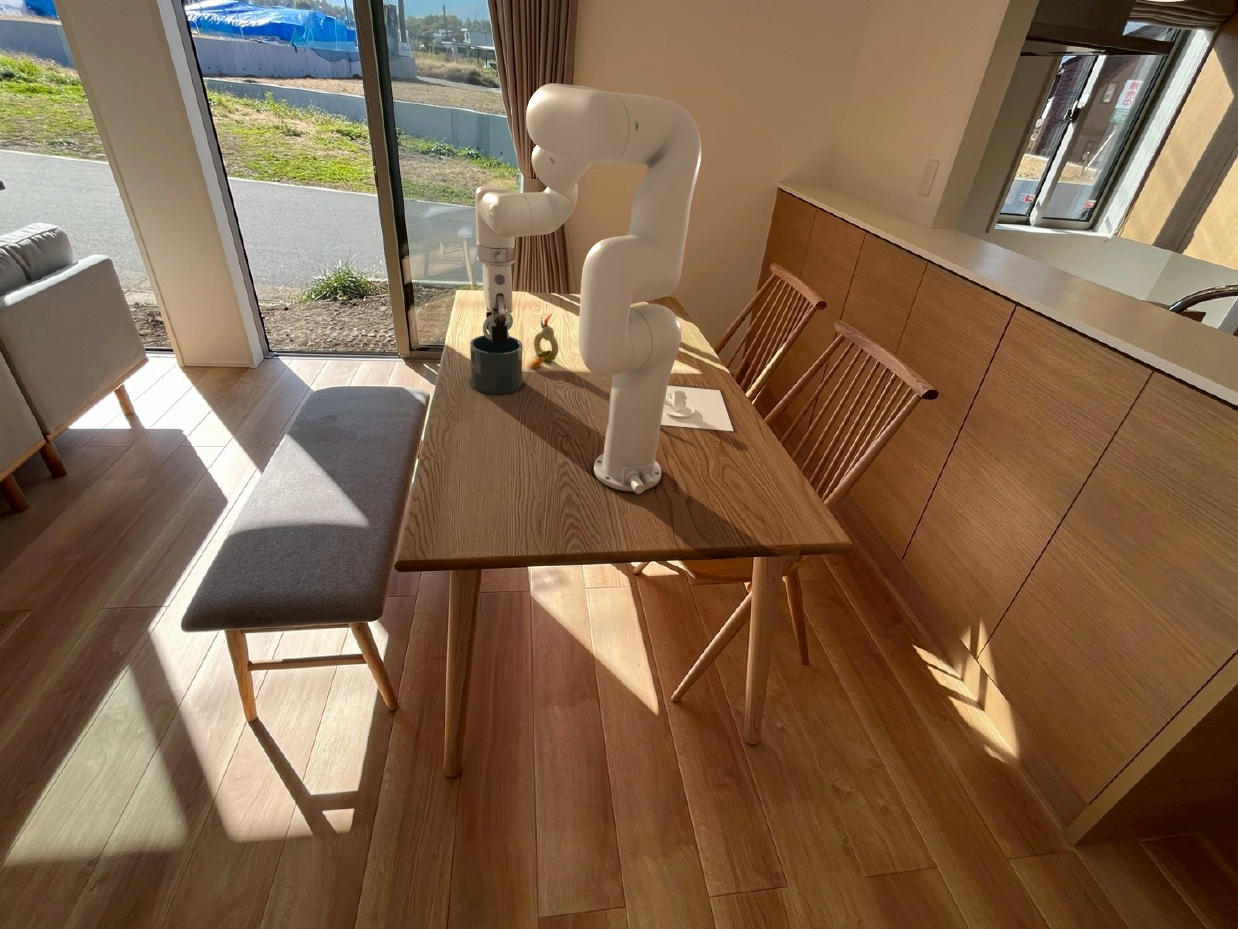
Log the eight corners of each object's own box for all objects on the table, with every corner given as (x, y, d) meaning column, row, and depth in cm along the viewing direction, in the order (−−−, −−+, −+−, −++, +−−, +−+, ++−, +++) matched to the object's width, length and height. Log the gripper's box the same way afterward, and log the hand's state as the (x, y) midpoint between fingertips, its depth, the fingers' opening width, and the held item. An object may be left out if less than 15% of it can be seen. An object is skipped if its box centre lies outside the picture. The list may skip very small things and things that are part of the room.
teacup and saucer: (658, 398, 138) (660, 382, 136) (692, 401, 138) (695, 386, 136) (660, 416, 131) (663, 400, 128) (696, 420, 131) (699, 403, 129)
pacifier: (478, 339, 128) (506, 347, 129) (480, 323, 123) (508, 332, 124) (487, 311, 131) (514, 320, 132) (489, 295, 125) (517, 303, 127)
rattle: (516, 359, 148) (517, 314, 142) (543, 353, 153) (545, 309, 147) (533, 370, 144) (534, 324, 138) (560, 364, 149) (563, 319, 143)
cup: (525, 392, 134) (526, 353, 128) (474, 395, 130) (473, 354, 125) (516, 371, 142) (517, 333, 137) (469, 373, 139) (467, 334, 134)
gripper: (522, 265, 115) (521, 351, 124) (507, 242, 128) (507, 322, 138) (482, 265, 113) (484, 352, 122) (471, 241, 126) (474, 322, 136)
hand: (496, 335), depth 130 cm, fingers closed on pacifier, 7 cm apart
